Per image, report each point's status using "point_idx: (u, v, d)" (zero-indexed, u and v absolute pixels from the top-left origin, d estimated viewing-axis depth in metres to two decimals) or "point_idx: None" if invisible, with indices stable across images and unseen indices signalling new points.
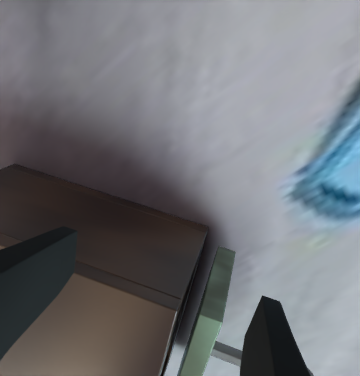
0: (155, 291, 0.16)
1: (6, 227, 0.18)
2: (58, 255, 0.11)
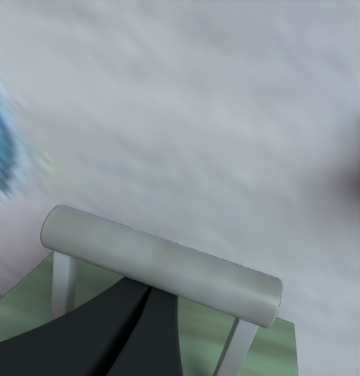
0: None
1: None
2: None
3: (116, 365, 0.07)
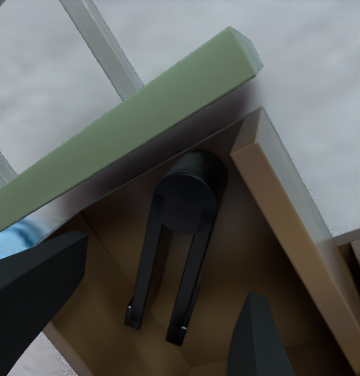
0: None
1: None
2: (70, 259, 0.11)
3: None
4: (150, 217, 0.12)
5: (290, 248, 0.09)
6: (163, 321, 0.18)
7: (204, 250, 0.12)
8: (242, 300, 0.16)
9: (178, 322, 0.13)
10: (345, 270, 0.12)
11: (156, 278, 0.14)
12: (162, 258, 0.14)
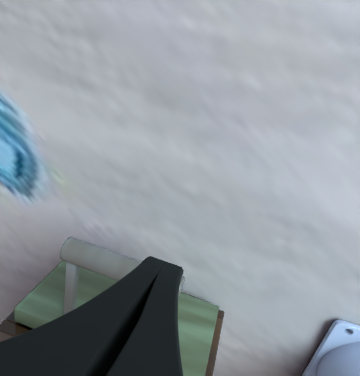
0: None
1: None
2: None
3: (116, 365, 0.07)
4: None
5: None
6: None
7: None
8: None
9: None
10: None
11: None
12: None
